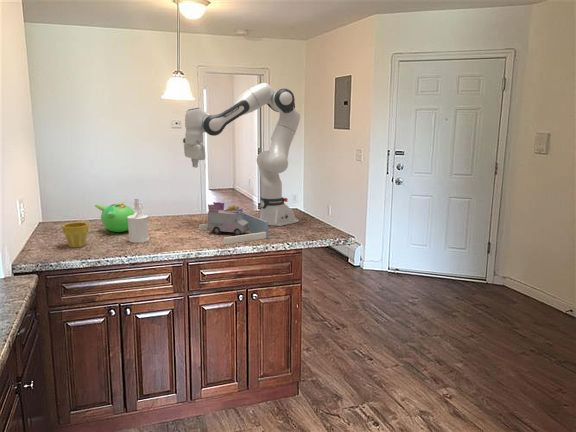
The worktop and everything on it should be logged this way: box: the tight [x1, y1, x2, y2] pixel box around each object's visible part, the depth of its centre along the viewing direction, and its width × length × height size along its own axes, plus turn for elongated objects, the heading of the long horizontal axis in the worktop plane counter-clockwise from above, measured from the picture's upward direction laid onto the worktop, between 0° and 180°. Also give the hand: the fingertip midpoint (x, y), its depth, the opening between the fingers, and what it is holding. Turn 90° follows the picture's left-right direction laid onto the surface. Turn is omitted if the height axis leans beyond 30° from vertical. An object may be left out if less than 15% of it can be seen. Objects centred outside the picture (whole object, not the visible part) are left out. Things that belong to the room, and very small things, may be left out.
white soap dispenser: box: [127, 197, 150, 244], centre depth 221 cm, size 10×9×20 cm
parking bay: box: [198, 211, 269, 246], centre depth 236 cm, size 23×30×8 cm
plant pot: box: [62, 221, 89, 249], centre depth 212 cm, size 10×10×10 cm
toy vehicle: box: [206, 201, 249, 236], centre depth 237 cm, size 9×20×15 cm, turn 74°
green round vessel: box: [94, 201, 135, 233], centre depth 237 cm, size 18×17×15 cm
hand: (195, 167), depth 247 cm, fingers closed
